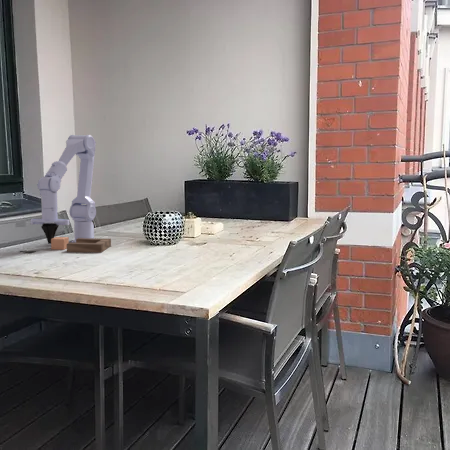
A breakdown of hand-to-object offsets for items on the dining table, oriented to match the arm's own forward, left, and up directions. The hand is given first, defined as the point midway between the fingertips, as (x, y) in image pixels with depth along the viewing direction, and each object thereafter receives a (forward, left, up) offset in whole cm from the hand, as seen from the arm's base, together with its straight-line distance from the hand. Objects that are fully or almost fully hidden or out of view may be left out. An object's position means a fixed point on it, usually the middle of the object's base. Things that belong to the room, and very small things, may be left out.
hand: (50, 243), depth 197 cm
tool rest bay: (0, +15, -2) cm, 15 cm away
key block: (0, +4, -2) cm, 4 cm away
